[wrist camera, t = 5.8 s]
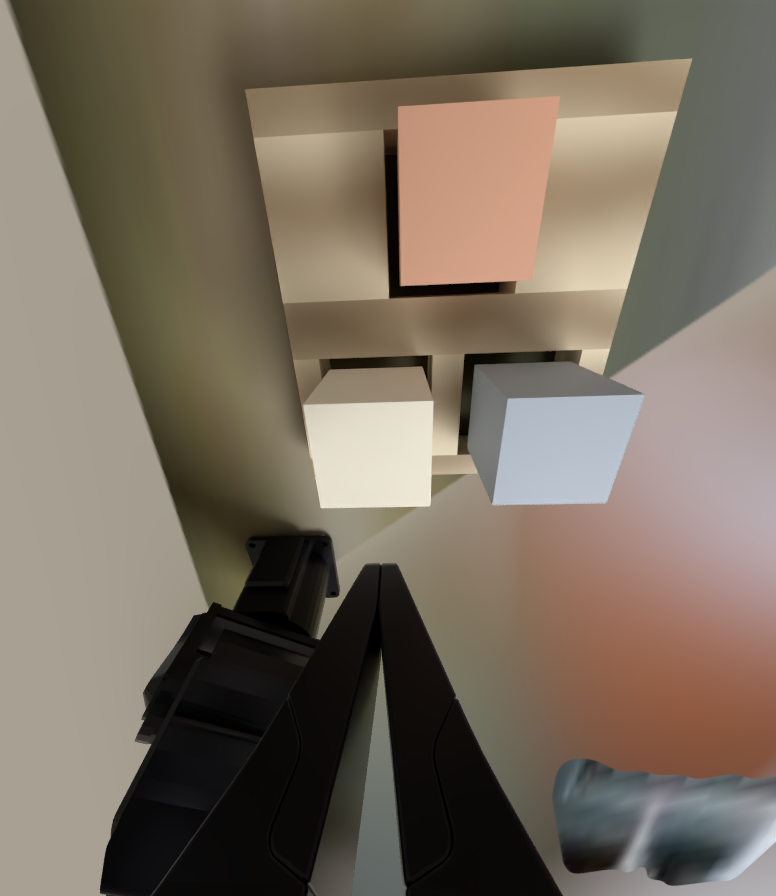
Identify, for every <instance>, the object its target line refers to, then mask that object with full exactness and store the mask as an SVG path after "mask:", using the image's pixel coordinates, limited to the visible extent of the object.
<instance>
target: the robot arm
mask: <svg viewBox="0 0 776 896" xmlns="http://www.w3.org/2000/svg"><path fill="white" fill-rule="evenodd" d="M324 542H326V543H324ZM253 543H254V544H253ZM246 548H247V551H248V554H249V556H250V559H251V562H252V565H253V568H252V570H251V572H250V574H249V576H248V578H247V580H246V582H245V586H244V588H243V590H242V592H241V594H240V596H239V598H238V600H237V602H236V604H235V606H234V608H233V610H230V609H227V608H224V607H221V606H222V605H221V604H218V603H215V602H213V603H212V605H211V607H210V608H209V610H208V612H207V613H203V614H200V615H194V616H193V618H192V620H191V621H190V623H189V624H188V626H187V628H186V629H185V631H184V633H183V634H182V636H181V637H180V639H179V641H178V642H177V644H176V645H175V647H174V648H173V650H172V651H171V652H170V654H169V655H168V656H167V658H166V659H165V660H164V662H163V663H162V665H161V666H160V667H159V669H158V670H157V671H156V673H155V674H154V676H153V677H152V679H151V680H150V681H149V683H148V685H147V686H146V688H145V690H144V692H143V696H144V701H145V706H146V710H145V712H144V714H143V716H142V720H144V722H143V724H142V727H141V728H140V730H139V732H138V734H137V737H136V739H135V742H139V743H143V744H152V745H151V747H150V748H149V750H148V752H147V754H146V756H145V758H144V760H143V762H142V764H141V766H140V768H139V770H138V772H137V774H136V776H135V777H134V780H133V781H132V783H131V785H130V787H129V789H128V791H127V793H126V795H125V797H124V799H123V800H122V802H121V805H120V806H119V808H118V810H117V812H116V814H115V817H114V819H113V824H112V828H111V838H110V840H109V842H108V845H107V848H106V852H105V858H104V865H103V872H102V879H101V885H100V893H101V894H106V896H351V894H352V886H353V878H354V870H355V861H356V854H357V845H358V838H359V830H360V822H361V814H362V806H363V799H364V791H365V782H366V775H367V767H368V758H369V750H370V743H371V735H372V727H373V719H374V711H375V703H376V695H377V687H378V679H379V671H380V662H381V651H382V661H383V673H384V683H385V694H386V705H387V716H388V727H389V738H390V749H391V760H392V771H393V782H394V793H395V804H396V815H397V826H398V837H399V848H400V859H401V870H402V881H403V892H404V896H563V895H562V893H561V891H560V890H559V888H558V886H557V884H556V883H555V881H554V879H553V877H552V875H551V874H550V872H549V870H548V868H547V867H546V865H545V863H544V862H543V860H542V858H541V856H540V855H539V853H538V851H537V849H536V847H535V846H534V844H533V842H532V840H531V838H530V837H529V835H528V833H527V831H526V830H525V828H524V826H523V824H522V823H521V821H520V819H519V818H518V816H517V814H516V812H515V810H514V808H513V807H512V805H511V803H510V801H509V800H508V798H507V796H506V795H505V793H504V791H503V789H502V787H501V786H500V784H499V782H498V780H497V778H496V776H495V774H494V772H493V771H492V769H491V767H490V765H489V763H488V761H487V759H486V757H485V756H484V754H483V752H482V750H481V748H480V745H479V743H478V741H477V739H476V737H475V735H474V733H473V731H472V729H471V727H470V725H469V723H468V720H467V718H466V716H465V714H464V712H463V709H462V707H461V705H460V703H459V700H458V699H456V694H455V692H454V690H453V687H452V685H451V683H450V681H449V679H448V676H447V674H446V672H445V670H444V667H443V665H442V663H441V661H440V658H439V656H438V654H437V652H436V649H435V647H434V645H433V643H432V641H431V638H430V636H429V634H428V632H427V629H426V627H425V625H424V623H423V620H422V618H421V616H420V614H419V612H418V609H417V607H416V605H415V603H414V600H413V598H412V596H411V594H410V591H409V589H408V587H407V585H406V583H405V580H404V578H403V576H402V574H401V572H400V569H399V567H398V565H397V564H396V563H383V564H382V565H380V564H379V563H370V564H369V563H368V564H365V565H364V567H363V568H362V570H361V572H360V574H359V575H358V577H357V579H356V580H355V582H354V584H353V586H352V587H351V589H350V590H349V592H348V594H347V596H346V597H345V599H344V601H343V602H342V604H341V606H340V607H339V609H338V611H337V613H336V614H335V616H334V618H333V619H332V621H331V623H330V624H329V626H328V628H327V629H326V631H325V633H324V634H323V636H322V638H321V639H320V640H319V639H316V638H317V634H318V629H319V624H320V620H321V616H322V611H323V607H324V602H325V598H326V597H327V598H333V597H338V596H339V592H340V586H339V580H338V575H337V568H336V562H335V556H334V550H333V544H332V539H331V538H330V537H328V536H275V537H250V538H249V539H248V541H247V542H246Z"/></svg>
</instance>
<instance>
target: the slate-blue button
mask: <svg viewBox="0 0 776 896" xmlns="http://www.w3.org/2000/svg"><path fill="white" fill-rule="evenodd" d="M644 396H645V394H643V393H641V392H638V391H636V390H634V389H632V388H629V387H627V386H625V385H623V384H620V383H618V382H616V381H614V380H611V379H609V378H607V377H605V376H602V375H600V374H598V373H596V372H593V371H591V370H589V369H586V368H584V367H582V366H580V365H577V364H575V363H573V362H571V361H566V362H537V363H508V364H479V365H475V366H474V377H473V388H472V399H471V410H470V422H469V433H468V444H467V448H468V451H469V453H470V455H471V458H472V460H473V462H474V464H475V467H476V469H477V471H478V474H479V476H480V478H481V480H482V482H483V485H484V487H485V490H486V492H487V494H488V496H489V499H490V501H491V503H492V505H527V504H528V505H529V504H581V503H582V504H583V503H584V504H585V503H606V502H607V500H608V497H609V494H610V491H611V488H612V486H613V483H614V480H615V477H616V474H617V472H618V469H619V466H620V463H621V461H622V458H623V455H624V452H625V449H626V447H627V444H628V441H629V438H630V436H631V433H632V430H633V427H634V424H635V421H636V419H637V416H638V413H639V410H640V408H641V405H642V402H643V399H644Z"/></svg>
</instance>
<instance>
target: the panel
mask: <svg viewBox="0 0 776 896" xmlns="http://www.w3.org/2000/svg"><path fill="white" fill-rule="evenodd" d="M691 61H692V59H679V60H664V61H650V62H635V63H620V64H606V65H591V66H577V67H562V68H548V69H533V70H518V71H504V72H489V73H475V74H460V75H446V76H431V77H416V78H402V79H387V80H373V81H358V82H344V83H329V84H314V85H300V86H285V87H271V88H256V89H245V93H246V99H247V104H248V110H249V115H250V121H251V127H252V132H253V138H254V143H255V149H256V155H257V160H258V166H259V172H260V177H261V183H262V188H263V194H264V200H265V205H266V211H267V216H268V222H269V228H270V233H271V239H272V244H273V250H274V256H275V261H276V267H277V272H278V278H279V284H280V289H281V295H282V301H283V306H284V312H285V317H286V323H287V329H288V334H289V340H290V345H291V351H292V357H293V362H294V368H295V373H296V379H297V385H298V390H299V396H300V401H301V407H302V413H303V418H304V424H305V430H306V435H307V441H308V446H309V452H310V458H311V463H312V469H313V474H314V477H315V471H314V466H313V460H312V454H311V449H310V443H309V437H308V431H307V426H306V420H305V414H304V409H303V404H304V403H305V401H306V400H307V399H308V397H309V396H310V395H311V394H312V392H313V391H314V390H315V388H316V387H317V386H318V384H319V383H320V382H321V380H322V379H323V378H324V377H325V375H326V374H327V373H328V371H329V370H331V366H330V359H337V358H365V357H393V356H421V355H428V368H427V382H428V385H429V389H430V392H431V395H432V398H433V401H434V402H433V435H432V468H431V474H476V473H478V471H477V469H476V467H475V464H474V462H473V460H472V458H471V455H470V453H469V451H468V448H467V444H468V435H459V422H460V408H461V394H462V381H463V367H464V354H477V353H505V352H533V351H556V353H555V358H554V362H566V361H571V362H573V363H575V364H577V365H580V366H582V367H584V368H586V369H589V370H591V371H593V372H596V373H598V374H600V375H603V372H604V368H605V365H606V361H607V357H608V354H609V350H610V347H611V343H612V340H613V336H614V333H615V329H616V326H617V322H618V319H619V315H620V312H621V308H622V305H623V301H624V298H625V294H626V290H627V287H628V283H629V280H630V276H631V273H632V269H633V266H634V262H635V259H636V255H637V252H638V248H639V245H640V241H641V238H642V234H643V231H644V227H645V223H646V220H647V216H648V213H649V209H650V206H651V202H652V199H653V195H654V192H655V188H656V185H657V181H658V178H659V174H660V171H661V167H662V164H663V160H664V156H665V153H666V149H667V146H668V142H669V139H670V135H671V132H672V128H673V125H674V121H675V118H676V114H677V111H678V107H679V104H680V100H681V97H682V93H683V89H684V86H685V82H686V79H687V75H688V72H689V68H690V65H691ZM552 96H560V102H559V108H558V115H557V121H556V128H555V134H554V141H553V147H552V153H551V160H550V166H549V173H548V179H547V186H546V192H545V199H544V205H543V212H542V218H541V224H540V231H539V237H538V244H537V250H536V257H535V263H534V270H533V276H532V280H526V281H504V282H499V290H498V292H490V293H467V294H444V295H420V296H397V297H390V286H389V256H388V225H387V195H386V165H385V155H396V154H397V141H398V107H399V106H414V105H429V104H444V103H460V102H475V101H490V100H506V99H521V98H536V97H552Z"/></svg>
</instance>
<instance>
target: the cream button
mask: <svg viewBox="0 0 776 896" xmlns="http://www.w3.org/2000/svg"><path fill="white" fill-rule="evenodd" d="M433 402H434V401H433V398H432V395H431V392H430V389H429V385H428V382H427V379H426V376H425V373H424V370H423V367H422V366H421V367H392V368H363V369H334V370H329V371H328V373H327V374H326V375H325V377H324V378H323V379H322V380H321V382H320V383H319V384H318V386H317V387H316V388H315V390H314V391H313V392H312V394H311V395H310V396H309V397H308V399H307V400H306V401H305V403H304V404H303V409H304V414H305V420H306V426H307V431H308V437H309V443H310V449H311V454H312V460H313V466H314V471H315V477H316V483H317V488H318V494H319V500H320V506H321V508H361V507H417V506H430V501H431V468H432V435H433Z"/></svg>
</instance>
